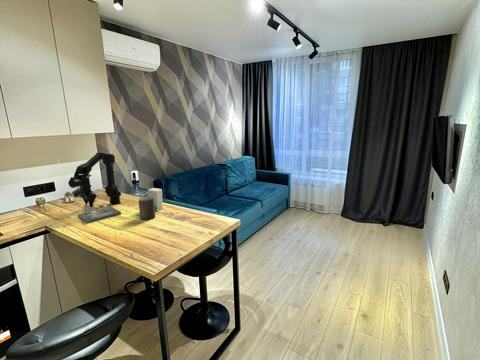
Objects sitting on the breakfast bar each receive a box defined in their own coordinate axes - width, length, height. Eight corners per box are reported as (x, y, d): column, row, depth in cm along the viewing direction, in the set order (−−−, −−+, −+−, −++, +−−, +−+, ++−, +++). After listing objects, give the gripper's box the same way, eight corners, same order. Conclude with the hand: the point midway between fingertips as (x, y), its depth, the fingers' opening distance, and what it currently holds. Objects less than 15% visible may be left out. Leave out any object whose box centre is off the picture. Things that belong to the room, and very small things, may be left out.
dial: (93, 210, 185) (92, 203, 184) (95, 211, 183) (93, 204, 182) (84, 212, 181) (83, 205, 179) (85, 213, 179) (84, 206, 178)
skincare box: (148, 210, 190) (146, 189, 186) (154, 207, 196) (152, 187, 192) (158, 211, 187) (156, 191, 183) (163, 208, 193) (162, 188, 189)
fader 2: (106, 209, 187) (106, 204, 186) (108, 210, 185) (107, 205, 184) (103, 210, 185) (102, 205, 184) (105, 211, 183) (104, 206, 182)
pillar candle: (155, 219, 173) (153, 197, 170) (139, 221, 170) (137, 199, 167) (155, 214, 182) (153, 193, 179) (140, 216, 179) (138, 195, 176)
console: (110, 208, 195) (110, 206, 194) (121, 214, 183) (120, 211, 182) (77, 217, 179) (77, 214, 179) (86, 223, 167) (86, 220, 167)
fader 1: (95, 215, 175) (94, 210, 174) (97, 216, 173) (96, 211, 172) (91, 216, 173) (90, 211, 172) (93, 217, 171) (92, 212, 170)
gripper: (67, 184, 178) (71, 205, 181) (76, 188, 165) (80, 212, 169) (85, 181, 186) (89, 201, 189) (95, 185, 173) (98, 207, 177)
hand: (88, 205), depth 181 cm, fingers open, 9 cm apart
